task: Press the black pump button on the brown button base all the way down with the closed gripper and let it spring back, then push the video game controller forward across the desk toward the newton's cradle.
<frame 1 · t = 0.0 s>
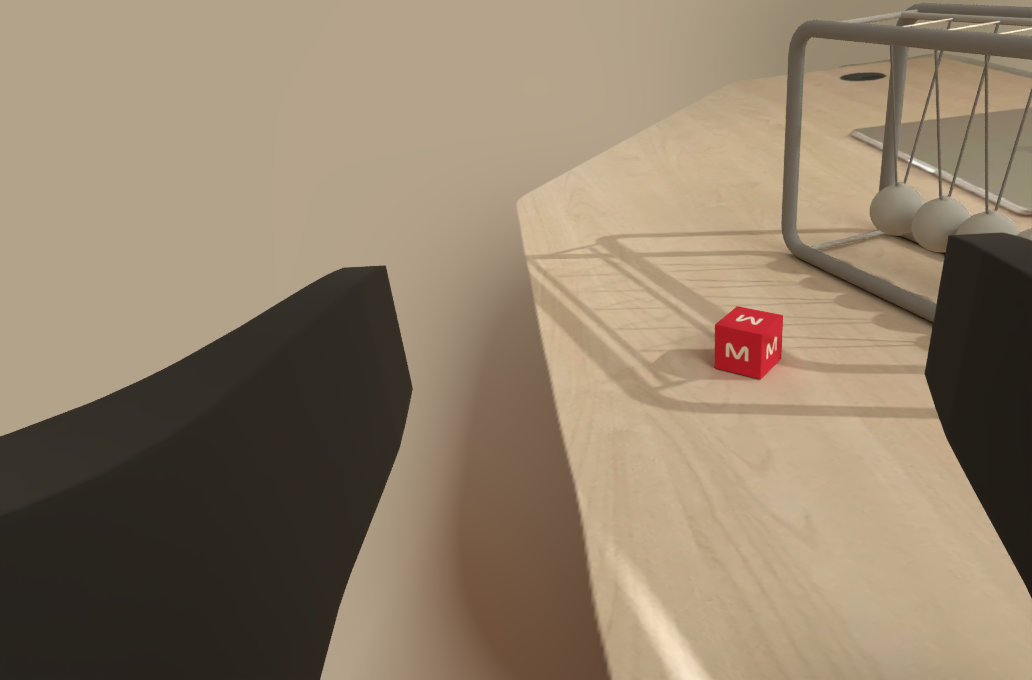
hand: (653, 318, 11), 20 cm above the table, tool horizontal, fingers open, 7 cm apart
dice: (747, 366, 51), on the table
newton's cradle: (977, 302, 55), on the table
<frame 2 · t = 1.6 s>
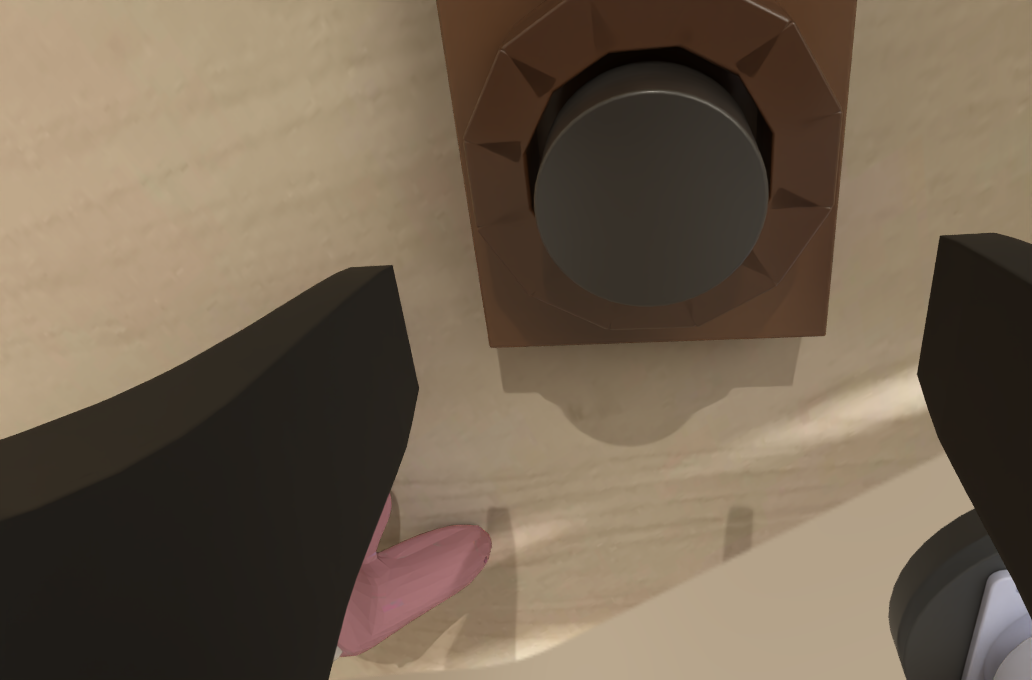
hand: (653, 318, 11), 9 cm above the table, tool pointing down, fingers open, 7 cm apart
brown button base: (644, 112, 19), on the table
pump button: (647, 185, 15), point 5 cm above the table, slide at 0.1 cm
video game controller: (365, 435, 25), on the table
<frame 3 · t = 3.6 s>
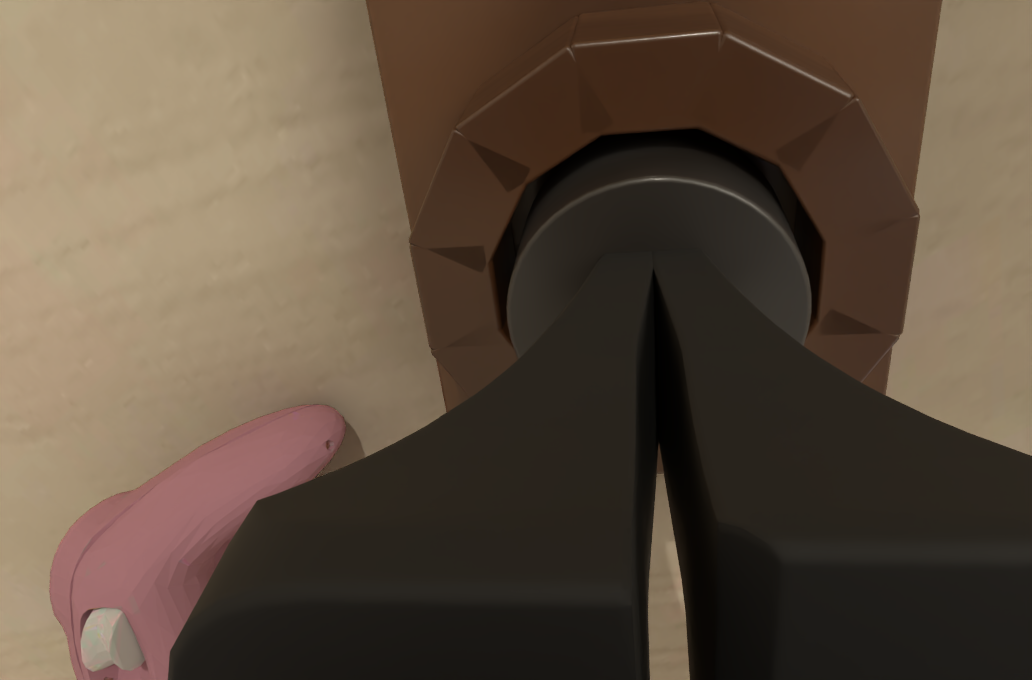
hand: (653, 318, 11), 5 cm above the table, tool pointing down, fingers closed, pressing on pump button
brown button base: (648, 186, 15), on the table
pump button: (653, 285, 12), point 4 cm above the table, slide at -0.7 cm, touching gripper
video game controller: (318, 545, 21), on the table
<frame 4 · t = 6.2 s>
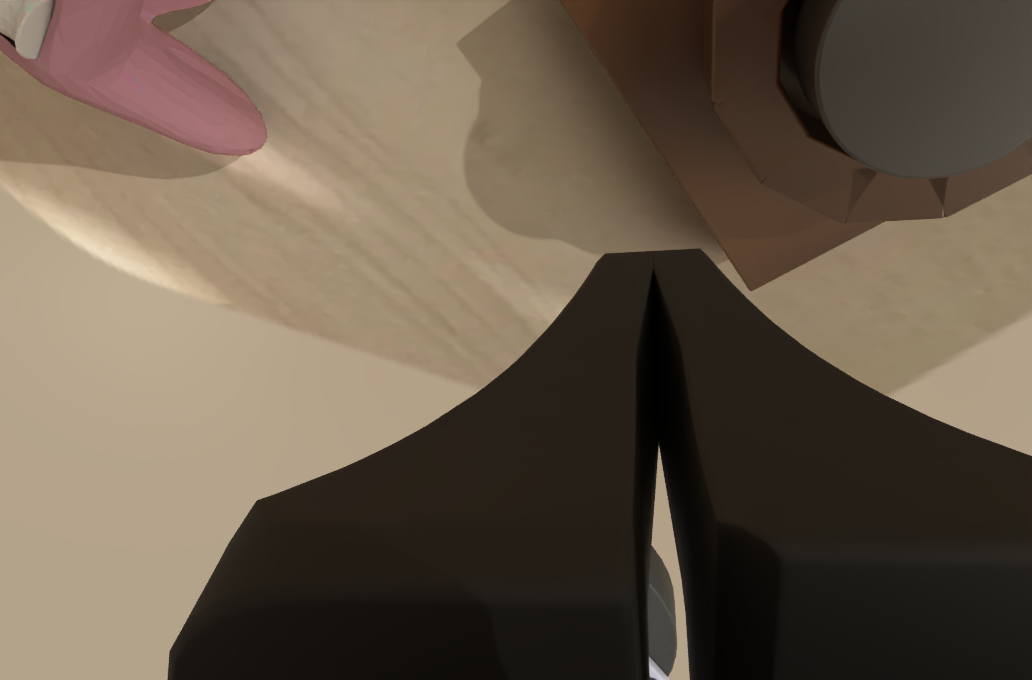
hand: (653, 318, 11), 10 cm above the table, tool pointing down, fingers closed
pump button: (930, 42, 13), point 5 cm above the table, slide at 0.1 cm
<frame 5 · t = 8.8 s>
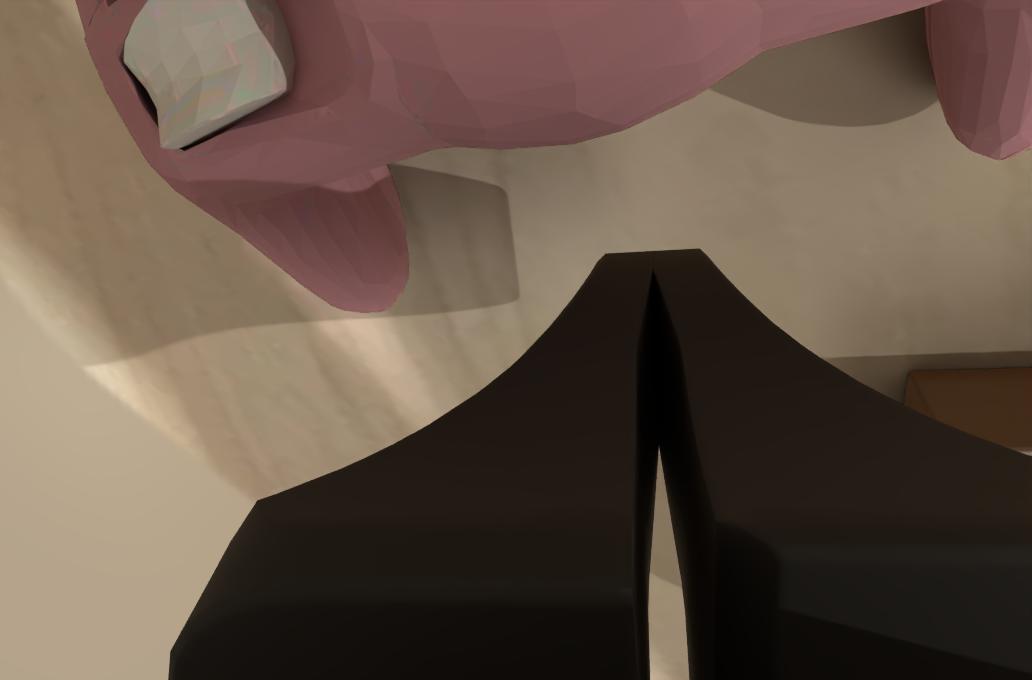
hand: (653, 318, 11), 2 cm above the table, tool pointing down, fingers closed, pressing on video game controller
video game controller: (607, 1, 11), on the table, touching gripper
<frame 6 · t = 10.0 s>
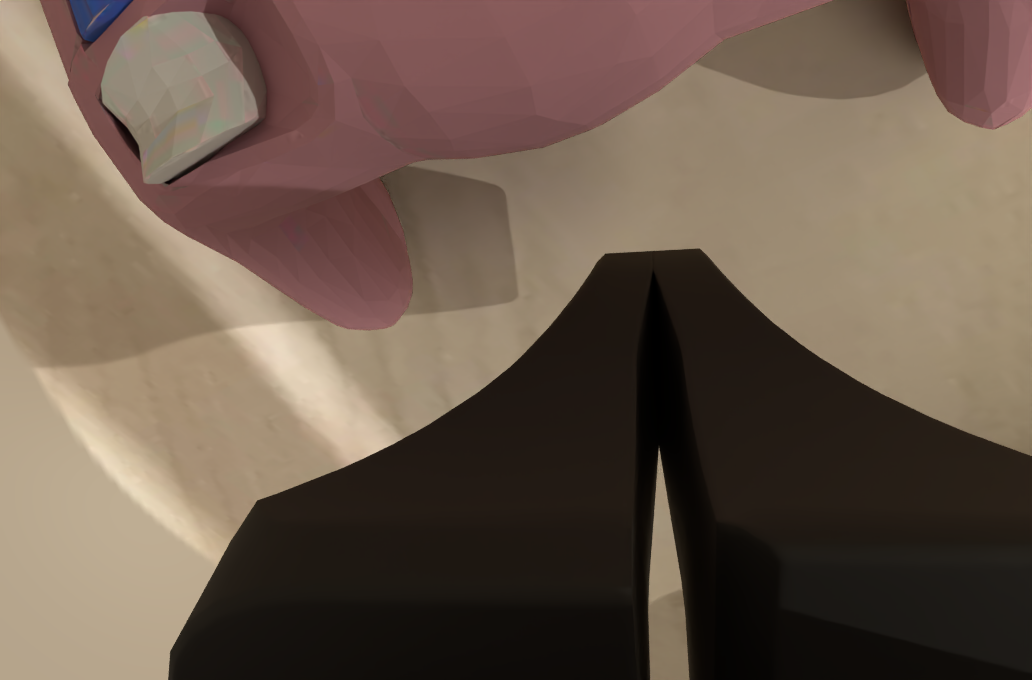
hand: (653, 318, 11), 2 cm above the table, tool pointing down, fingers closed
video game controller: (586, 3, 11), on the table, touching gripper
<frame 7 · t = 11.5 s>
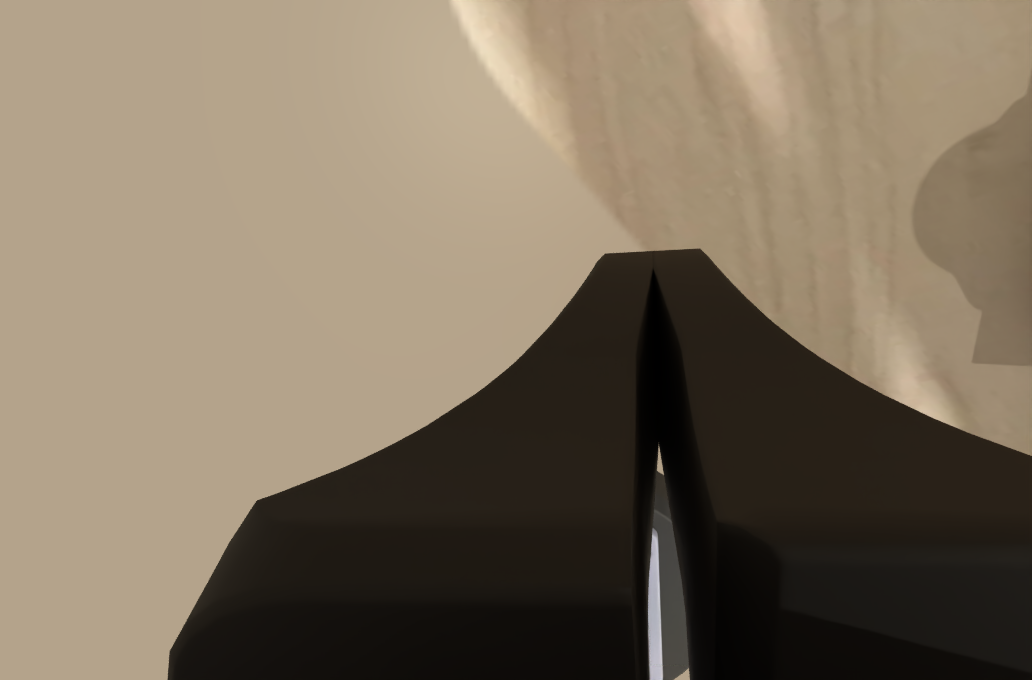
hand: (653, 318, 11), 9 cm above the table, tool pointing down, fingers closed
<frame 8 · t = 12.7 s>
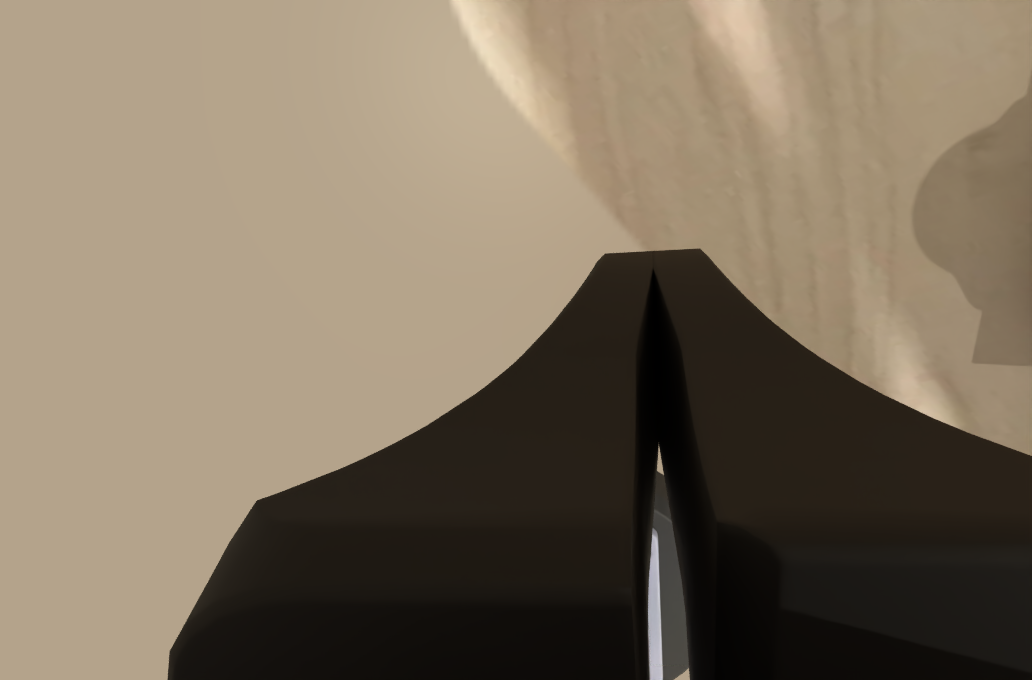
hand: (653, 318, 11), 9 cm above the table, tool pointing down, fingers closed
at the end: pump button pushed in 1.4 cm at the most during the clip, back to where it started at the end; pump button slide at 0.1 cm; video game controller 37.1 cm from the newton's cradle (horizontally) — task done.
